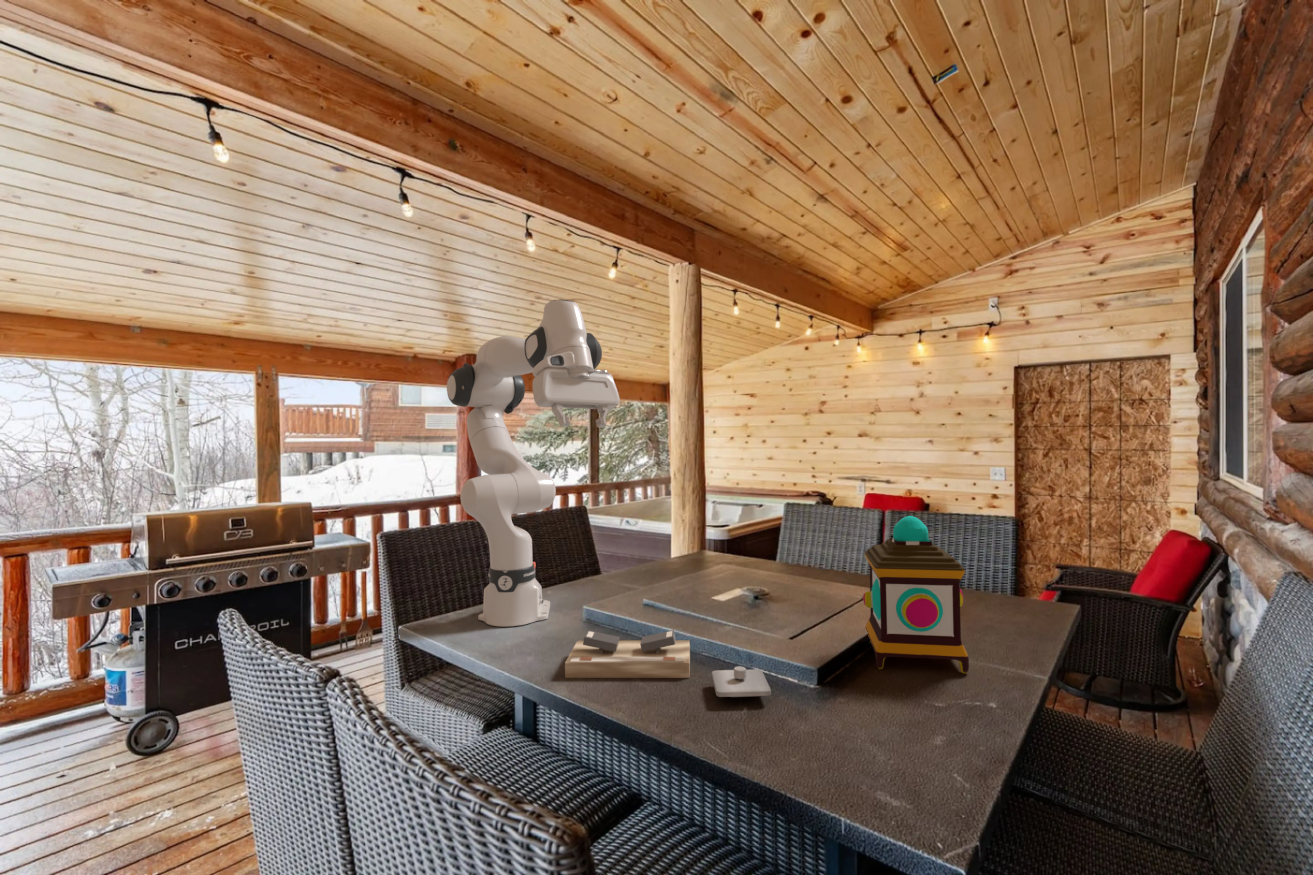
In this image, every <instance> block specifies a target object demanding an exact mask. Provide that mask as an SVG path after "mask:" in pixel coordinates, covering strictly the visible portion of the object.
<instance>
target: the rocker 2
mask: <svg viewBox="0 0 1313 875" xmlns="http://www.w3.org/2000/svg"><path fill="white" fill-rule="evenodd" d="M675 640H677V639H676V632H675V630H668V631H663V632H659V633H658V632H657V633H654V634H650V635H649V634H648V635H645V636H641V643H640V645H641V649H642V652H643V651H647V650H652V649H657V648H661V647H666V646H671V645H675Z"/></svg>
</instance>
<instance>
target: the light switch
mask: <svg viewBox="0 0 1313 875" xmlns="http://www.w3.org/2000/svg"><path fill="white" fill-rule="evenodd" d="M711 679H712V683H713V688H714V691H715V695H716V696H717V697H719V698H726V697H727V698H728V697H730V698H752V697H769V696H771V695H772V690H771V687H770V684H769V683H768V681H767V678H766V676H765V674H764V673H763V670H762V669H747V668H746V667H744V666H741V665H740V666H739V665H738V666H735V667H734V668H733V669H724V670H723V669H721V670H718V669H717V670H713V671H711Z"/></svg>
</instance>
